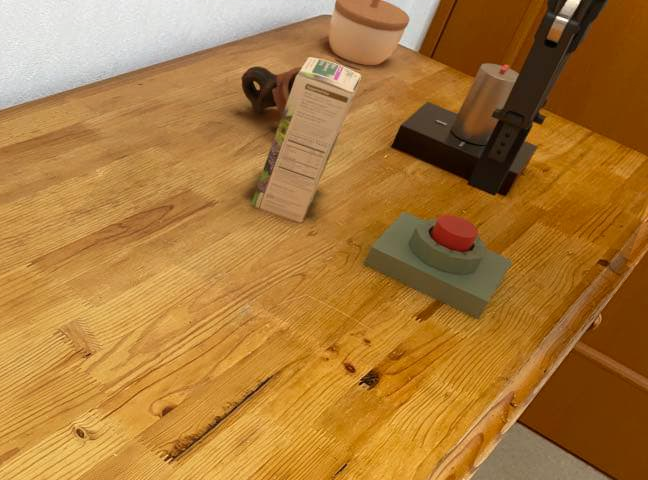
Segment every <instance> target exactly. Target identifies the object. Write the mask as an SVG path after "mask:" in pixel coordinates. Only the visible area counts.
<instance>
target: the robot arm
mask: <svg viewBox="0 0 648 480" xmlns="http://www.w3.org/2000/svg"><path fill="white" fill-rule="evenodd" d="M609 1H610V0H547V3H546V6H547V9H546V11H545V13H544V14H543V16H542V17H541V18H542V19H541V21H540V23H539V25H538V27H537V28H536V29H537V30H536V32H535V34H534V37H533V38H534V41H533V43H532V46H531V47H530V50H529V52H528V53H527V55H526V58H525V60H524V62H523V64H522V66H521V68H520V71H519V73H518V74H519V75H518V77H517V79H516V81H515V84H514V86H513V88H512V90H511V92H510V94H509V96H508V99H507V101H506V103H505V105H504V107H503V109H501V110H500V109H496V110H495V111H494V112H493V114H492V117H493V118H495V119H498V122H497V124H496V126H495V128H494V130H493V132H492V134H491V136H490V138H489V140H488V142H487V144H486V146H485V148H484V150H483V152H482V154H481V156H480V158H479V160H478V162H477V164H476V166H475V168H474V170H473V172H472V174H471V176H470V178H469V180H467V182H466V185H467V186H470V187H472V188H475V189H477V190H479V191H482V192H484V193H486V194H489V195H492V196H493V197H495V196H496V194H498V193H497V192H498V190H499V188H500V187H501V185H502V183H503V181H504V179H505V177H506V175H507V173H508V171H509V170H510V168H511V166H512V164H513V162H514V160H515V158H516V156H517V154H518V153H519V151H520V149H521V147H522V145H523V143H524V141H526V139H527V138H528V136H529V134H530V132H531V131H532V128H533V126H534V124H537V125H540V126H542V125H543V124H544V121H545V120H546V118H547V116H546V115H544V114H541V113H540V112H541V110H542V109H543V108H544V107H545V106H546V105H547V103H548V98H549V96H550V94H551V92H552V90H553V89H554V87H555V86H556V83H557V82H558V80H559V78H560V76H561V74H562V73H563V70H564V69H565V67H566V66H567V63H568V61H569V59H570V57H571V56H572V54H573V53H574V52H575V51H576V50H577V49H578V48H579V46H580V45H582V43H583V42H584V41H585V39H586V37H587V35H588V34H589V32H590V30H591V28H592V26H593V24H594V22H595V21H596V20H597V18H598V17H599V16H600V14H602V12H603V11H604V10H605V9H606V7H607V5H608V3H609Z"/></svg>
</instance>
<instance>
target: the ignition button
mask: <svg viewBox="0 0 648 480" xmlns="http://www.w3.org/2000/svg"><path fill="white" fill-rule="evenodd" d="M437 219H438V220H437V222H436V224H435V226H434V228H433V230H432V232H431V234H430V236H431V238H432V239H433V240H434V241H435V242H437V243H438V244H439V245H441V246H443V247H446V248H448V249H450V250H453V251H458V252H467V251H469V250H470V248H471V246H472V244H473V243H474V241H475V239H476V237H477V236H479V230H478V228H477V227H476V226H475V225H474V224H473V223H472V222H470V221H468V220H467V219H466V218H463V217H461V216H457V215H452V214H444V215H440V216H439V217H438V218H437Z"/></svg>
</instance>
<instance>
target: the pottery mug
mask: <svg viewBox="0 0 648 480" xmlns="http://www.w3.org/2000/svg"><path fill="white" fill-rule="evenodd" d="M302 67H303V66H297V67H294V68H292V69H290V70H289V71H284V72H282V73H279V74H274V73H273V72H271V71H269V69H267V68H265V67H262V66H252V67H249V68H248V69H247V70H246V71H245V72H244V73H243V74H242V76H241V88H242V91H243V93H244V96H245V97H246V99H248V101H249V102H250V104H251V106H252V111H253V112H254V113H258V112H263V111H264V110H265V109H268V108H274V107H277V110H278V113H279V114H280V116H281V117H282V115H283V112H284V109H285V106H286V104H287V101H288V98H289V95H290V92H291V89H292V86H293V84H294V81H295V78H296V76H297V75H298V73H299V71H300V70H301V68H302ZM255 83H256V84H258V86H259V89H257V87H256V85H255ZM276 132H277V129H276V130H275V135H276ZM275 135H274V136H275Z"/></svg>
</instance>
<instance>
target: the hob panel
mask: <svg viewBox="0 0 648 480" xmlns="http://www.w3.org/2000/svg"><path fill="white" fill-rule="evenodd" d="M457 115H458V113H457V112H454V111H451V110H449V109H447V108H445V107H442V106H440V105H437V104H435V103H432V102H430V101H426V102H425V103H424V104H423V105H422V106H420V108H418V109H416V111H415V112H414V113H412V114H411V115H410V116H409V117H408V118H406V120H404V121H403V122H402V123H401V124H400V125H399V127H398V129H397V132H396V134H395V137H394V139H393V142H392V143H391V148H392V149H395V150H397V151H399V152H402V153H404V154H406V155H409V156H411V157H413V158H416V159H418V160H420V161H423V162H425V163H427V164H430V165H432V166H434V167H437V168H439V169H442V170H444V171H446V172H449V173H451V174H453V175H455V176H457V177H459V178H462V179H465V180H466V181H468V180H469V178H470V176H471V174H472V172H473V170H474V168H475V166H476V164H477V162H478V160H479V158H480V156H481V154H482V152H483V150H484V148H485V146H486V145H478V144H473V143H469V142H467V141H464V140H462V139H460V138H458V137H457V136H456V135H454V134H453V133H452V131H451V127H452V125H453V123H454V121H455V119H456V117H457ZM537 149H539V148H538V146H537V145H536V144H533V143H530V142H528V141H526V140H525V141H524V143H523V145H522V147H521V149H520V151H519V153H518V154H517V156H516V158H515V160H514V162H513V164H512V166H511V168H510V170H509V171H508V173H507V175H506V177H505V179H504V181H503V183H502V185H501V187H500V188H499V190H498V192H497V193H496V194H499V195H502V196H504V197H507V196H508V194H509V193H510V191H511V190H512V189H513V187H514V185H515V184H516V183H517V181H518V180H519V179H520V177H521V176H522V174H523V173H524V171H525V170H526V169H527V167H528V165H529V163H530V162H531V160H532V159H533V157H534V155H535V153H536V151H537Z"/></svg>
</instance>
